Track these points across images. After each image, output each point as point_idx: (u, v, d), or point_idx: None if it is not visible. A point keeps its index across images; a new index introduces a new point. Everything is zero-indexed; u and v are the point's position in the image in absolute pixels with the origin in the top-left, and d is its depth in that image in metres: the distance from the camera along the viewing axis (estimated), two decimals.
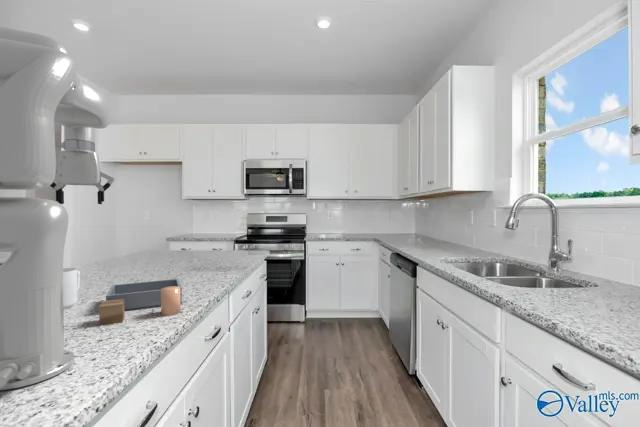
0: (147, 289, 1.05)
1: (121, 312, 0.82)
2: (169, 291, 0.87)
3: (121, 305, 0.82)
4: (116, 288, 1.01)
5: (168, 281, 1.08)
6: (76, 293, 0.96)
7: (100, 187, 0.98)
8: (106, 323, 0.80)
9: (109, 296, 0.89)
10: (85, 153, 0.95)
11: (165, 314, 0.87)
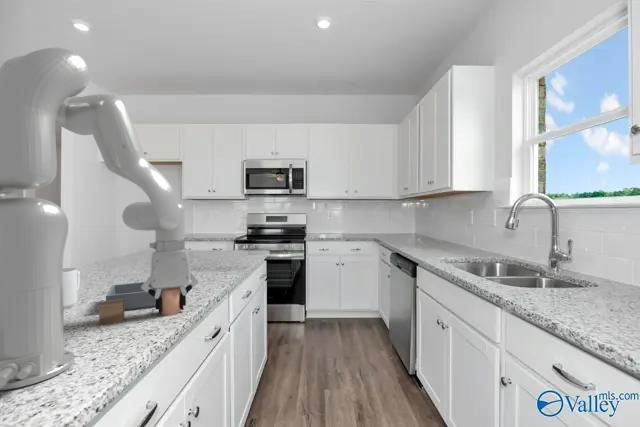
0: None
1: (121, 312, 0.82)
2: (169, 291, 0.87)
3: (121, 305, 0.82)
4: (116, 288, 1.01)
5: None
6: (76, 293, 0.96)
7: (184, 291, 0.90)
8: (106, 323, 0.80)
9: (109, 296, 0.89)
10: (177, 253, 0.88)
11: (165, 314, 0.87)
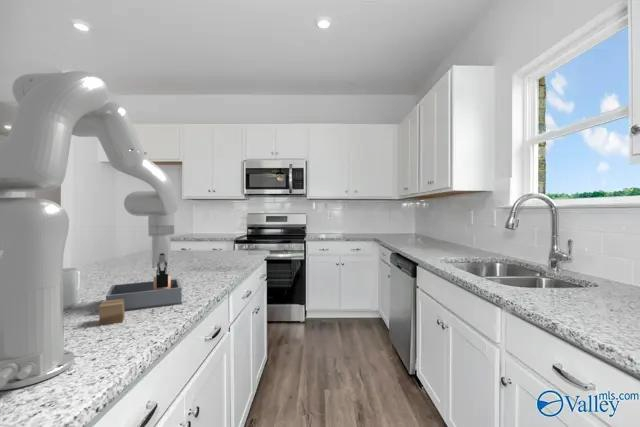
0: (147, 289, 1.05)
1: (121, 312, 0.82)
2: None
3: (121, 305, 0.82)
4: (116, 288, 1.01)
5: None
6: (76, 293, 0.96)
7: None
8: (106, 323, 0.80)
9: (109, 296, 0.89)
10: (152, 237, 0.99)
11: None
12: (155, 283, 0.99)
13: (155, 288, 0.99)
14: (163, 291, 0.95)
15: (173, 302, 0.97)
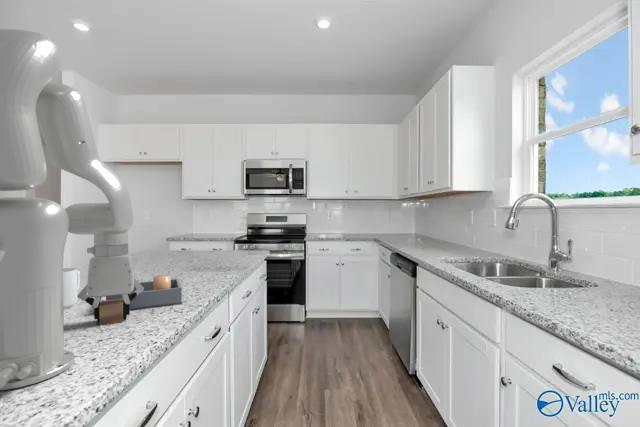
0: (147, 289, 1.05)
1: (121, 312, 0.82)
2: None
3: (121, 305, 0.82)
4: None
5: None
6: (76, 293, 0.96)
7: (127, 299, 0.83)
8: (106, 323, 0.80)
9: (109, 296, 0.89)
10: (118, 259, 0.81)
11: None
12: (155, 283, 0.99)
13: (155, 288, 0.99)
14: (163, 291, 0.95)
15: (173, 302, 0.97)
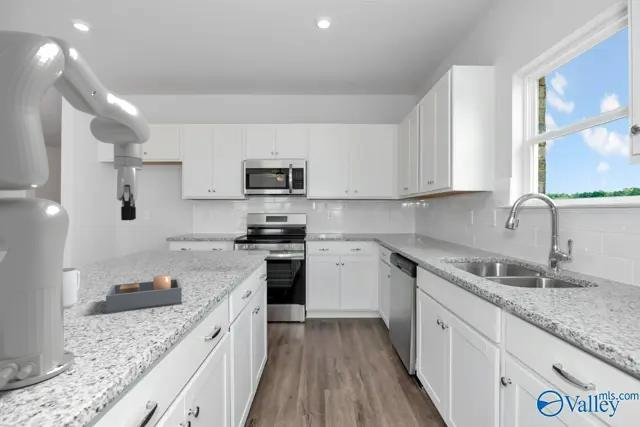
0: (147, 289, 1.05)
1: None
2: None
3: None
4: (116, 288, 1.01)
5: None
6: (76, 293, 0.96)
7: (122, 202, 0.92)
8: None
9: (109, 296, 0.89)
10: None
11: None
12: (155, 283, 0.99)
13: (155, 288, 0.99)
14: (163, 291, 0.95)
15: (173, 302, 0.97)
